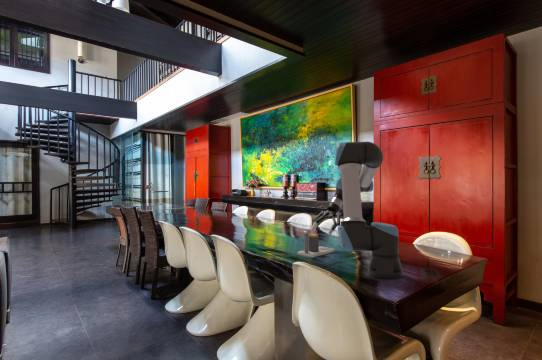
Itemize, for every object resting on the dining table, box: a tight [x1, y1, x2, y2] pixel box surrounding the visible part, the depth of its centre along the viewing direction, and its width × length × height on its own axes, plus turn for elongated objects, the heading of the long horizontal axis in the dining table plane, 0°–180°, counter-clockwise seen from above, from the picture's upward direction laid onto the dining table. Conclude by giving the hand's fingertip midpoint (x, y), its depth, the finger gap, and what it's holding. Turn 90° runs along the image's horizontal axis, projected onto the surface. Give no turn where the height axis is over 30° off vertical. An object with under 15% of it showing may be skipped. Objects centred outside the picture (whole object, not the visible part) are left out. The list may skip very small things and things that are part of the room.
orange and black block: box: [308, 233, 319, 252], centre depth 173 cm, size 4×4×11 cm
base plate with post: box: [297, 234, 336, 259], centre depth 175 cm, size 21×11×13 cm, turn 132°
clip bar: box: [292, 227, 310, 235], centre depth 176 cm, size 17×3×2 cm, turn 22°
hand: (320, 232), depth 179 cm, fingers open, 13 cm apart
